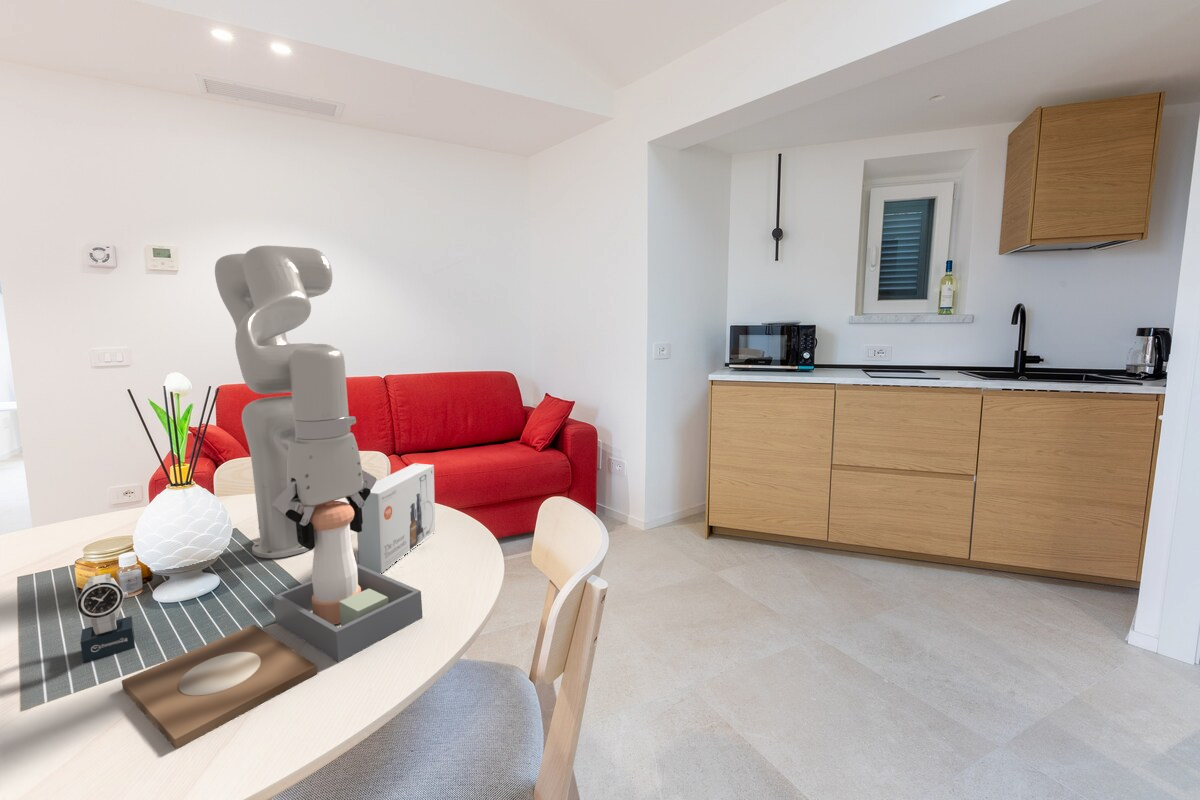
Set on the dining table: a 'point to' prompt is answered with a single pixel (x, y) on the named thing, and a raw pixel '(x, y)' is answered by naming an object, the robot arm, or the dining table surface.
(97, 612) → the watch
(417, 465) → the skincare box
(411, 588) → the bin
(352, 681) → the dining table surface
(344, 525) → the pepper shaker
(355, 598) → the sage block
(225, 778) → the dining table surface
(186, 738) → the serving board
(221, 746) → the dining table surface
